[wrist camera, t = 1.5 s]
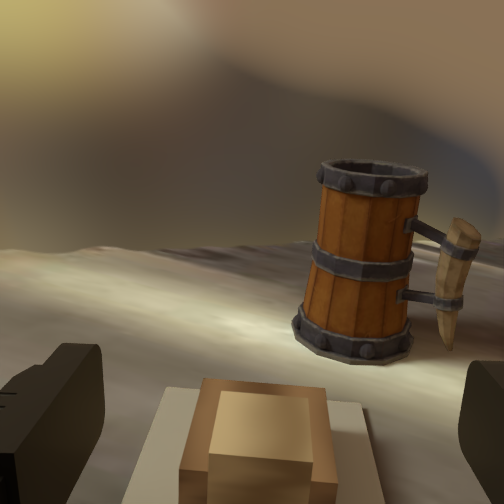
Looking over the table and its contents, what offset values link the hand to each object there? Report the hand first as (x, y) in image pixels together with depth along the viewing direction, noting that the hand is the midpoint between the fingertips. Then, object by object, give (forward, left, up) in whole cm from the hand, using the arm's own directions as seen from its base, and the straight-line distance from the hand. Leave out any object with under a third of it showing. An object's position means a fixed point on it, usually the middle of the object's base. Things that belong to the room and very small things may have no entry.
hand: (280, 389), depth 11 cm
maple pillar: (0, +10, -21) cm, 23 cm away
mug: (+12, +42, -22) cm, 49 cm away
